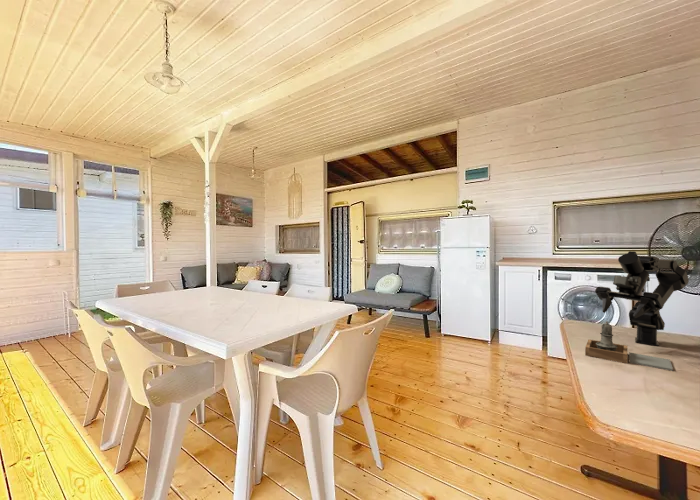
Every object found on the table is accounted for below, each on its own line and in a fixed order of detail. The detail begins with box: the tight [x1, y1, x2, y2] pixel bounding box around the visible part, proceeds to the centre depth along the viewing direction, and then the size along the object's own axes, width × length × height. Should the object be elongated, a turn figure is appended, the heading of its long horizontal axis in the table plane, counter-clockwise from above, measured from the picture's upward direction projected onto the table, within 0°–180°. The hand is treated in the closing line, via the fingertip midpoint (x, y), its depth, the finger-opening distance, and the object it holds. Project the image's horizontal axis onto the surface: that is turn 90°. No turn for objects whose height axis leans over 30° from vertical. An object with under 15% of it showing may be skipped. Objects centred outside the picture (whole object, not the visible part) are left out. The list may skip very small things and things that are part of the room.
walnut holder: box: [584, 339, 629, 364], centre depth 109 cm, size 11×11×3 cm
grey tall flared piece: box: [596, 321, 617, 351], centre depth 109 cm, size 6×6×12 cm
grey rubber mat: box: [628, 352, 674, 372], centre depth 102 cm, size 10×10×1 cm
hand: (618, 314), depth 112 cm, fingers open, 9 cm apart
